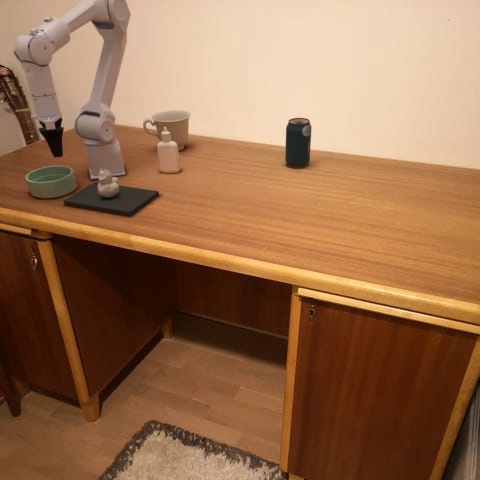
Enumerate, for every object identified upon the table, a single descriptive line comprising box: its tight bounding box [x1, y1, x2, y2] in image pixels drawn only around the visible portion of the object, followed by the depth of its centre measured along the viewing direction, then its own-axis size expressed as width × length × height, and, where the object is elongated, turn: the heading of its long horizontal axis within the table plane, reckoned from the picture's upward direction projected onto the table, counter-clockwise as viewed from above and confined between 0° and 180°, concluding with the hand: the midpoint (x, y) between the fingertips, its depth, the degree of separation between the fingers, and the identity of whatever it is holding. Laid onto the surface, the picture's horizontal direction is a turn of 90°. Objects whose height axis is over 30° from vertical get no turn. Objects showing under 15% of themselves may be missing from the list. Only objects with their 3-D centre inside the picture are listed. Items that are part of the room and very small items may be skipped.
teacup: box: [142, 109, 192, 152], centre depth 144 cm, size 12×15×10 cm
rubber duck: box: [97, 167, 120, 198], centre depth 115 cm, size 5×7×8 cm
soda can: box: [284, 117, 313, 169], centre depth 129 cm, size 7×7×12 cm
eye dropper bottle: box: [156, 127, 181, 174], centre depth 129 cm, size 4×6×12 cm
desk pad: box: [63, 181, 160, 218], centre depth 117 cm, size 20×13×1 cm, turn 66°
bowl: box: [25, 165, 78, 200], centre depth 123 cm, size 12×12×4 cm
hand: (57, 152), depth 118 cm, fingers open, 7 cm apart
